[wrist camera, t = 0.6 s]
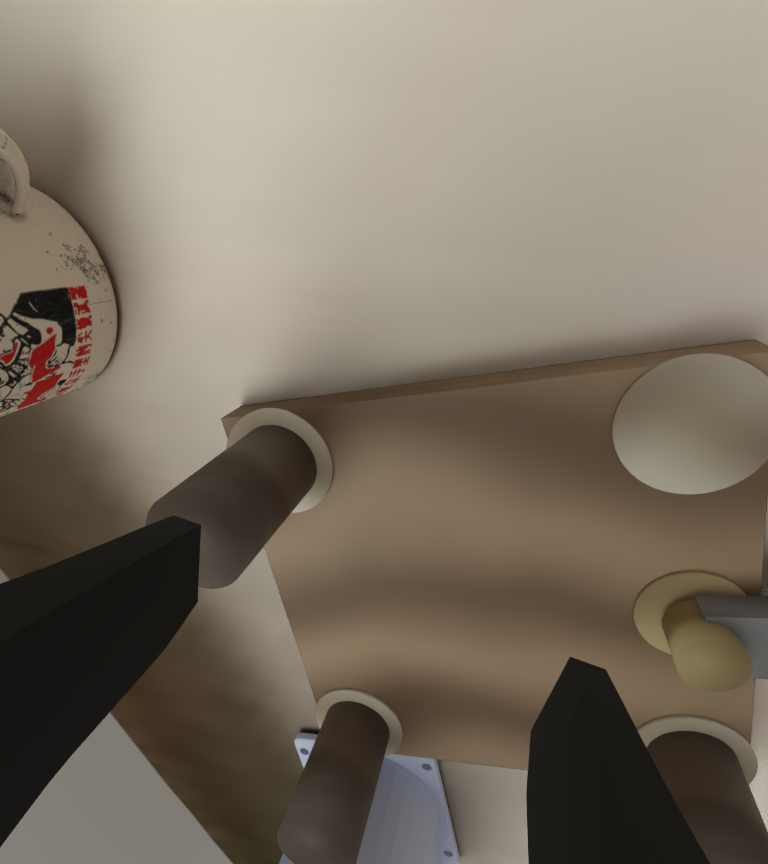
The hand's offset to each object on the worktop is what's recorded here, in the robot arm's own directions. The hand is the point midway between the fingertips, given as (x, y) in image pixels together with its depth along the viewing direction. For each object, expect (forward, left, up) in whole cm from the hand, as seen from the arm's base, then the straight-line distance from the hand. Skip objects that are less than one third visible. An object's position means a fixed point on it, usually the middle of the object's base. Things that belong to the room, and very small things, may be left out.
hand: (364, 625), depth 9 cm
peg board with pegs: (-7, -1, -10) cm, 12 cm away
